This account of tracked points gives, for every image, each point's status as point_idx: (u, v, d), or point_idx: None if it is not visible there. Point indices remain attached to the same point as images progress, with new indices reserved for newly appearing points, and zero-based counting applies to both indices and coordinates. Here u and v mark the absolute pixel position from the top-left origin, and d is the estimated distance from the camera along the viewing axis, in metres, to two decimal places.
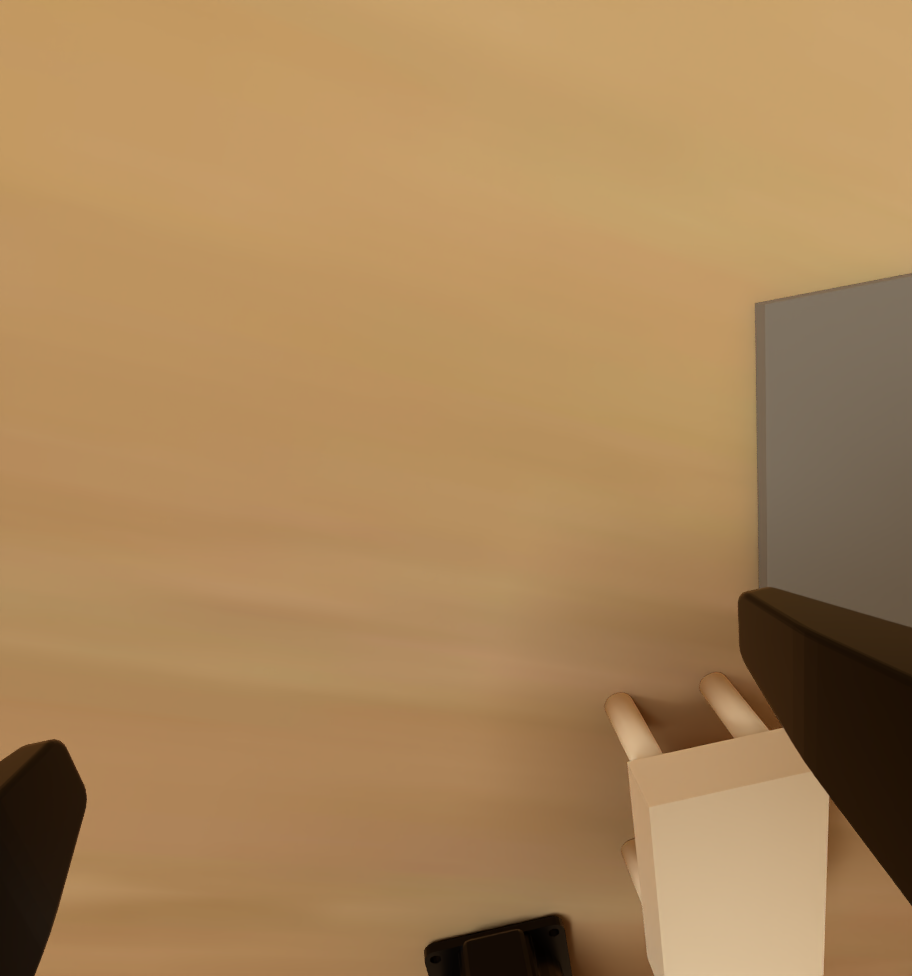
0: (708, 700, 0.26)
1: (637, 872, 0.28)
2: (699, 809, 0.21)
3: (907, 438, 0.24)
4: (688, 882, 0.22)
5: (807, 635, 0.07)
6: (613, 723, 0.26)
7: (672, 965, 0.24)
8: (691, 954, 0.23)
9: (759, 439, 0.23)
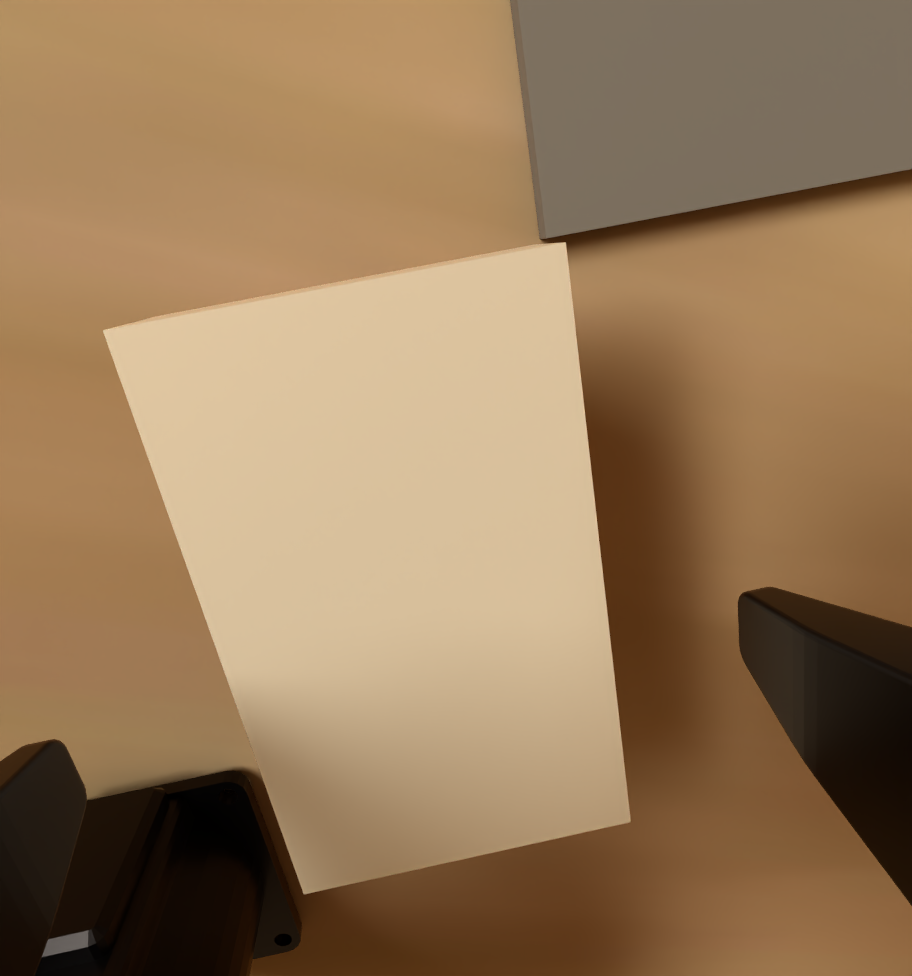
0: None
1: None
2: (243, 350, 0.09)
3: None
4: (269, 569, 0.10)
5: (807, 635, 0.07)
6: None
7: (285, 785, 0.11)
8: (324, 759, 0.11)
9: None
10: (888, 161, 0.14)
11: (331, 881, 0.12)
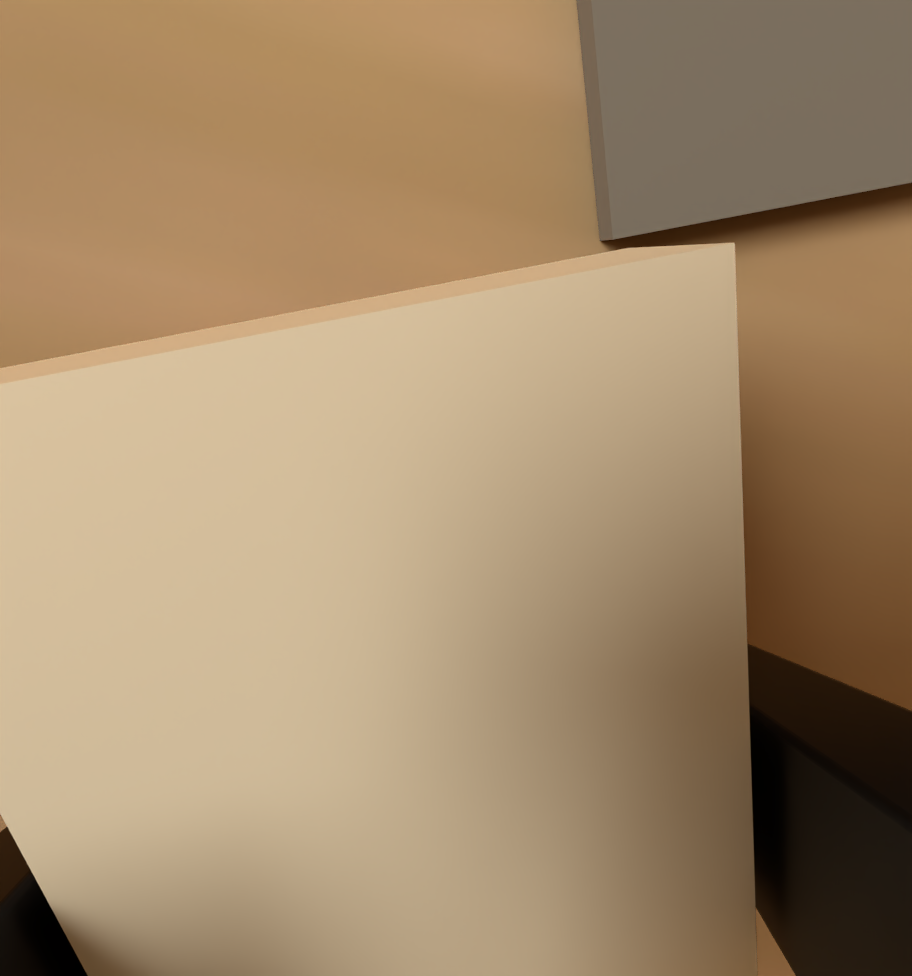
0: None
1: None
2: (89, 458, 0.04)
3: None
4: (168, 834, 0.05)
5: None
6: None
7: None
8: None
9: None
10: None
11: None
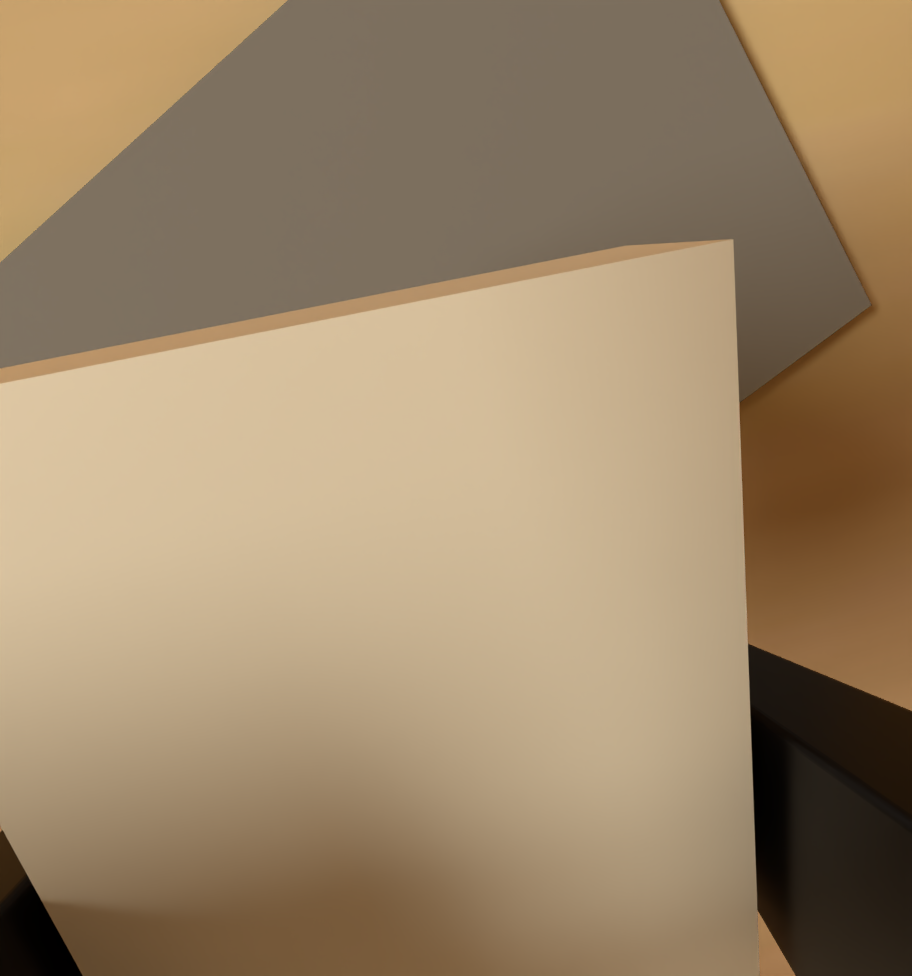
0: None
1: None
2: (83, 458, 0.04)
3: None
4: (165, 836, 0.05)
5: None
6: None
7: None
8: None
9: None
10: None
11: None
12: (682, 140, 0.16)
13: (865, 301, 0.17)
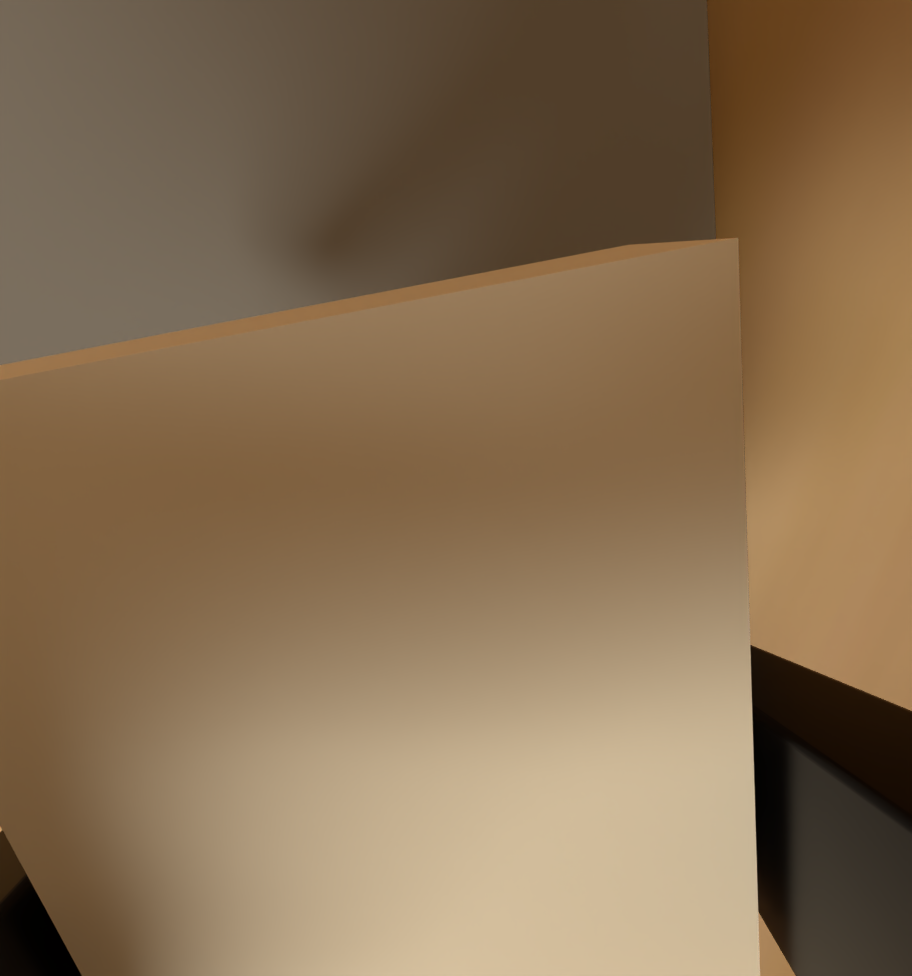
0: None
1: None
2: (85, 455, 0.04)
3: None
4: (165, 836, 0.05)
5: None
6: None
7: None
8: None
9: None
10: None
11: None
12: (332, 101, 0.11)
13: None
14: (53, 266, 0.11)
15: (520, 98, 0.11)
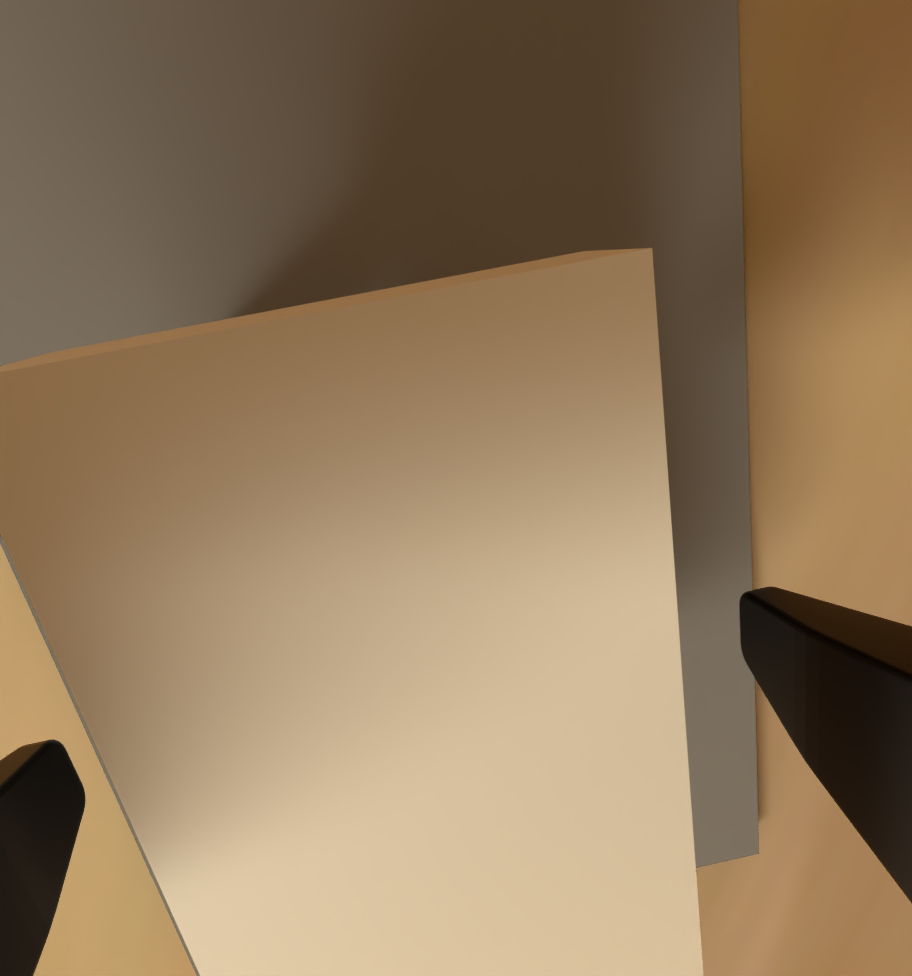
0: None
1: None
2: (157, 412, 0.06)
3: None
4: (208, 722, 0.07)
5: (808, 635, 0.07)
6: None
7: None
8: (292, 964, 0.08)
9: None
10: None
11: None
12: (331, 90, 0.10)
13: None
14: (30, 270, 0.11)
15: (535, 87, 0.10)
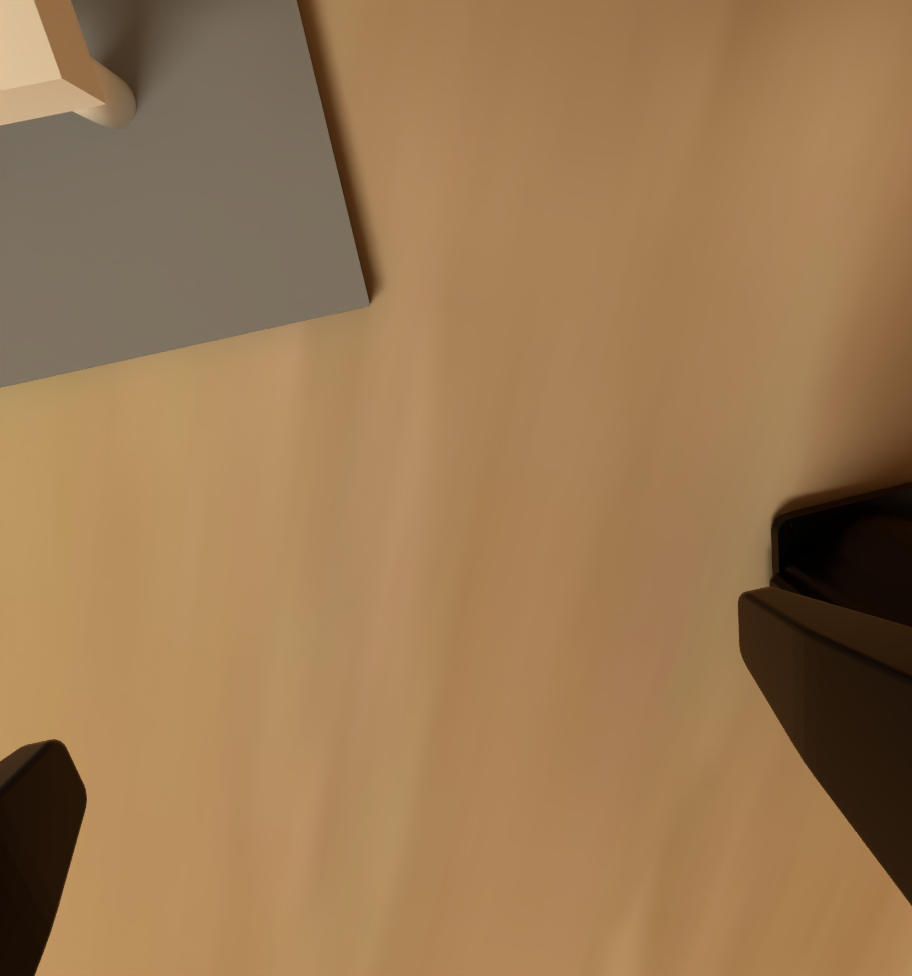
0: None
1: None
2: None
3: None
4: None
5: (807, 635, 0.07)
6: None
7: None
8: None
9: (45, 376, 0.18)
10: None
11: None
12: None
13: None
14: None
15: None
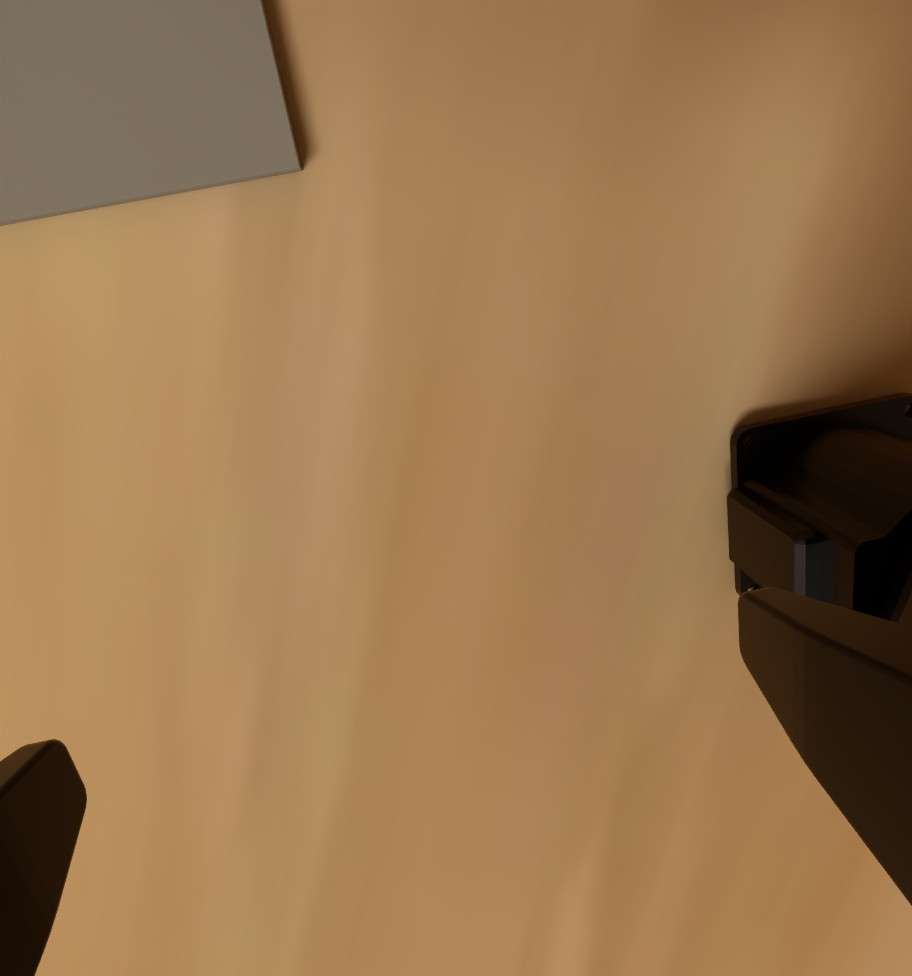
0: None
1: None
2: None
3: None
4: None
5: (807, 635, 0.07)
6: None
7: None
8: None
9: None
10: None
11: None
12: None
13: None
14: None
15: None
